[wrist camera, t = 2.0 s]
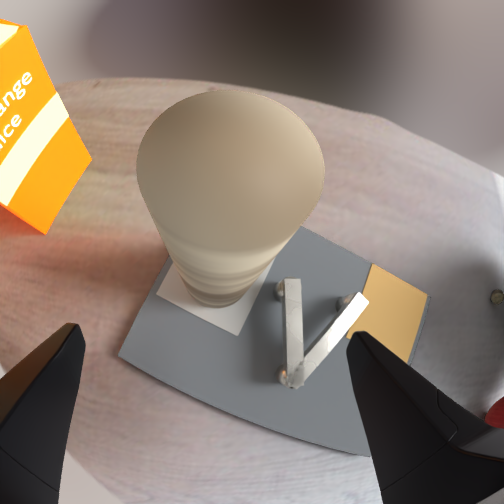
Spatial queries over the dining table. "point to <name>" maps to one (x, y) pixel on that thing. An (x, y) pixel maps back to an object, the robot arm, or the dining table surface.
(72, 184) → the orange juice
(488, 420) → the onion
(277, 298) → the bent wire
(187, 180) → the peg
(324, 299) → the board
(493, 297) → the tabletop clock
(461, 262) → the dining table surface
